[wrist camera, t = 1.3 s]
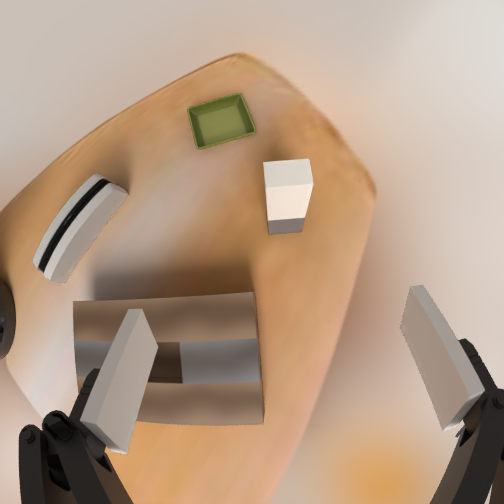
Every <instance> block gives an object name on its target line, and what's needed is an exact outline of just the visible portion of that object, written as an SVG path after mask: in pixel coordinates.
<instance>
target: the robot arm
mask: <svg viewBox="0 0 504 504" xmlns="http://www.w3.org/2000/svg"><path fill="white" fill-rule="evenodd" d="M400 329H401V331H402V333H403V336H404V337H405V340H406V342H407V344H408V346H409V348H410V351H411V353H412V355H413V358H414V360H415V362H416V365H417V367H418V369H419V371H420V374H421V376H422V379H423V381H424V383H425V386H426V388H427V391H428V393H429V396H430V398H431V401H432V403H433V406H434V409H435V411H436V414H437V417H438V420H439V422H440V425H441V428H442V430H443V431H445V430H448V429H450V428H453V427H456V426H457V425H458V424H459V423H460V422H461V421H462V419H463V421H464V423H465V425H464V426H463V427H462V428H461V430H460V431H459V432H458V433H457V435H456V436H455V437H458V436H459V435H460V437H459V439H458V443H457V445H456V448H455V450H454V453H453V455H452V458H451V460H450V462H449V465H448V467H447V469H446V472H445V474H444V476H443V478H442V480H441V483H440V484H439V487H438V489H437V491H436V493H435V495H434V497H433V498H432V501H431V502H430V504H484V503H485V501H486V498H487V496H488V493H489V490H490V488H491V485H492V490H491V496H490V502H489V504H504V390H503V389H498V388H497V386H496V385H495V383H494V381H493V379H492V377H491V375H490V374H489V372H488V370H487V368H486V366H485V364H484V363H483V362H482V359H481V358H480V356H478V352H477V351H476V349H475V347H474V346H473V345H472V344H471V343H470V342H469V341H468V340H467V339H461V340H458V339H457V338H456V336H455V334H454V333H453V331H452V329H451V328H450V326H449V324H448V323H447V321H446V319H445V318H444V316H443V315H442V313H441V312H440V310H439V309H438V307H437V305H436V304H435V303H434V301H433V299H432V298H431V296H430V295H429V293H428V292H427V290H426V289H425V288H424V286H423V285H419V286H412V287H410V289H409V293H408V297H407V301H406V306H405V309H404V313H403V317H402V321H401V325H400ZM14 332H15V309H14V303H13V298H12V295H11V292H10V290H9V288H8V286H7V285H6V283H5V282H4V281H3V280H2V279H0V359H2V358H4V357H5V356H6V355H7V353H8V352H9V350H10V348H11V345H12V342H13V338H14ZM157 349H158V345H157V343H156V341H155V338H154V336H153V334H152V331H151V329H150V327H149V324H148V322H147V320H146V317H145V315H144V312H143V310H142V309H129V310H128V312H127V314H126V316H125V318H124V320H123V322H122V324H121V326H120V328H119V330H118V332H117V334H116V337H115V339H114V341H113V343H112V345H111V347H110V350H109V352H108V354H107V356H106V358H105V361H104V363H103V365H102V367H101V369H97V368H94V369H93V370H92V371H91V372H90V373H89V374H88V375H87V377H86V379H85V381H84V383H83V387H82V388H81V390H80V394H79V395H78V397H77V399H76V402H75V404H74V406H73V409H72V411H71V414H70V416H69V417H68V416H67V415H66V414H65V413H63V412H62V411H58V410H55V411H52V412H50V413H49V414H47V415H46V417H45V418H44V420H43V423H42V429H43V430H42V431H41V430H40V429H39V428H38V427H36V426H35V425H27V426H25V427H24V428H23V429H22V430H21V432H20V435H19V478H20V493H21V503H22V504H134V503H133V502H132V500H131V498H130V497H129V495H128V493H127V492H126V490H125V488H124V486H123V485H122V483H121V481H120V479H119V477H118V475H117V474H116V472H115V470H114V468H113V466H112V464H111V462H110V460H109V458H108V456H107V454H106V453H105V452H104V451H105V448H106V446H107V447H108V448H109V449H110V450H111V451H113V452H118V453H123V454H127V453H128V449H129V445H130V441H131V437H132V434H133V430H134V426H135V423H136V419H137V415H138V412H139V408H140V405H141V401H142V398H143V395H144V391H145V388H146V385H147V381H148V378H149V375H150V371H151V368H152V365H153V362H154V359H155V355H156V352H157ZM492 482H493V483H492Z"/></svg>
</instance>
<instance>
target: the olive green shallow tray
mask: <svg viewBox="0 0 504 504" xmlns="http://www.w3.org/2000/svg"><path fill="white" fill-rule="evenodd" d="M187 112H188V116H189V120H190V124H191V128H192V132H193V136H194V141H195V145H196V148H197V149H205V148H209V147H212V146H215V145H218V144H222V143H225V142H229V141H232V140H235V139H239V138H243V137H246V136H250V135H252V134H254V133H256V128H255V125H254V123H253V120H252V118H251V115H250V113H249V110H248V108H247V106H246V103H245V101H244V98H243V96H242V94H241V93H236V94H232V95H229V96H225V97H221V98H218V99H215V100H211V101H208V102H204V103H201V104H198V105H194V106H191V107H189V108H188V109H187Z"/></svg>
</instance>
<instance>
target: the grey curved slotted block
mask: <svg viewBox="0 0 504 504" xmlns="http://www.w3.org/2000/svg"><path fill="white" fill-rule="evenodd" d="M128 196H129V194H128V193H127V192H126V190H125V189H123V188H121V187H119V186H118V184H117V183H116V182H114V181H112V180H110V179H108V178H106V177H104V176H102V175H100V174H98V173H96V174H94V175H93V176H91V177H90V178H89V179H88V180H87V181H86V182H85V183H84V184H83V185H82V186H81V187H80V188H79V189H78V190H77V191H76V192H75V193H74V194H73V196H72V197H71V198H70V199H69V200H68V201H67V203H66V204H65V205H64V206H63V208H62V209H61V210H60V212H59V213H58V214H57V216H56V217H55V219H54V220H53V222H52V223H51V225H50V226H49V228H48V230H47V232H46V233H45V235H44V237H43V239H42V241H41V243H40V245H39V247H38V249H37V251H36V254H35V256H34V259H33V263H34V265H35V267H36V268H37V270H39V271H43V273H44V277H45V278H47V279H49V280H50V281H54V282H61V283H66V281H67V279H68V278H69V276H70V275H71V273H72V272H73V270H74V269H75V267H76V266H77V264H78V263H79V261H80V260H81V259H82V257H83V256H84V254H85V253H86V251H87V250H88V249H89V247H90V246H91V244H92V243H93V242H94V240H95V239H96V237H97V236H98V235H99V233H100V232H101V231H102V229H103V228H104V227H105V225H106V224H107V223H108V221H109V220H110V219H111V217H112V216H113V215H114V214H115V212H116V211H117V210H118V209H119V207H120V206H121V205H122V203H123V202H124V201H125V200H126V199H127V197H128Z"/></svg>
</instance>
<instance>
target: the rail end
mask: <svg viewBox="0 0 504 504" xmlns="http://www.w3.org/2000/svg"><path fill="white" fill-rule="evenodd" d="M263 165H264V180H265V194H266V209H267V222H268V232H269V235H272V234H283V233H295V232H301V230H302V226H303V223H304V219H305V215H306V211H307V208H308V204H309V200H310V196H311V192H312V188H313V184H314V183H313V178H312V172H311V167H310V161H309V159H298V160H284V161H271V162H263Z"/></svg>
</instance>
